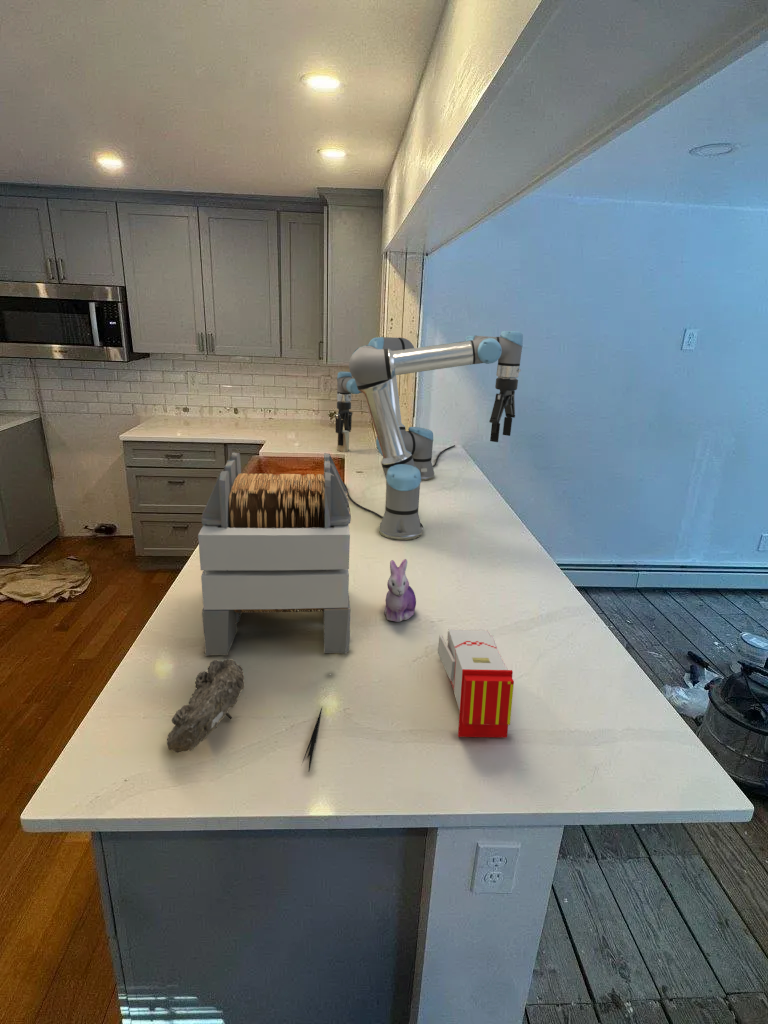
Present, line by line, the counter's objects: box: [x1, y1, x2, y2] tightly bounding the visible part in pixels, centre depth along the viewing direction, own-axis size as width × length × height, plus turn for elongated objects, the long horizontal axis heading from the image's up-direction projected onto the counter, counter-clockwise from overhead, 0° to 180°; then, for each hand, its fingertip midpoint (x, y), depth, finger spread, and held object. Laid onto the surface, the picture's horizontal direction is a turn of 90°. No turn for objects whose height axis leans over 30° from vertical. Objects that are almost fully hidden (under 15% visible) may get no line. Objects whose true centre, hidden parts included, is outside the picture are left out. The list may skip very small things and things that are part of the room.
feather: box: [301, 673, 332, 771], centre depth 108 cm, size 2×28×2 cm
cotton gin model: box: [197, 451, 352, 657], centre depth 136 cm, size 34×33×41 cm
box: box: [336, 429, 351, 453], centre depth 309 cm, size 5×4×11 cm
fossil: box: [166, 658, 245, 754], centre depth 106 cm, size 22×10×15 cm
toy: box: [437, 628, 515, 738], centre depth 117 cm, size 12×13×30 cm
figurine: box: [384, 558, 417, 623], centre depth 145 cm, size 9×10×15 cm
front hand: (500, 438), depth 203 cm, fingers open, 13 cm apart
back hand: (343, 444), depth 310 cm, fingers open, 4 cm apart
